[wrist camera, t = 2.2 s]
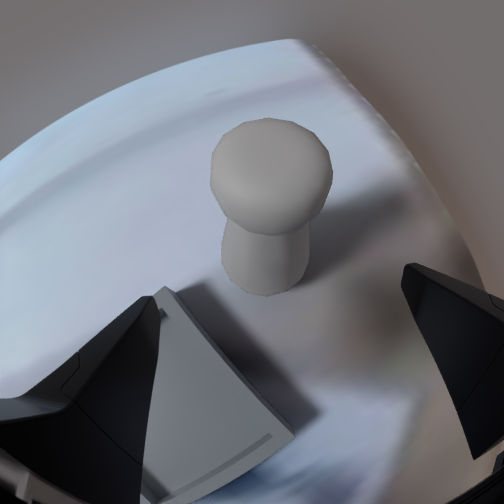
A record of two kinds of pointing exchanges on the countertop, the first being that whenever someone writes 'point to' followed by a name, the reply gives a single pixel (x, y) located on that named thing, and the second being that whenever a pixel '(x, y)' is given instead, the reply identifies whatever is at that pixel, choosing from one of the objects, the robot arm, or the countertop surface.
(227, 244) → the salt shaker
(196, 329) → the tray
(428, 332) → the robot arm
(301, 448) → the countertop surface
